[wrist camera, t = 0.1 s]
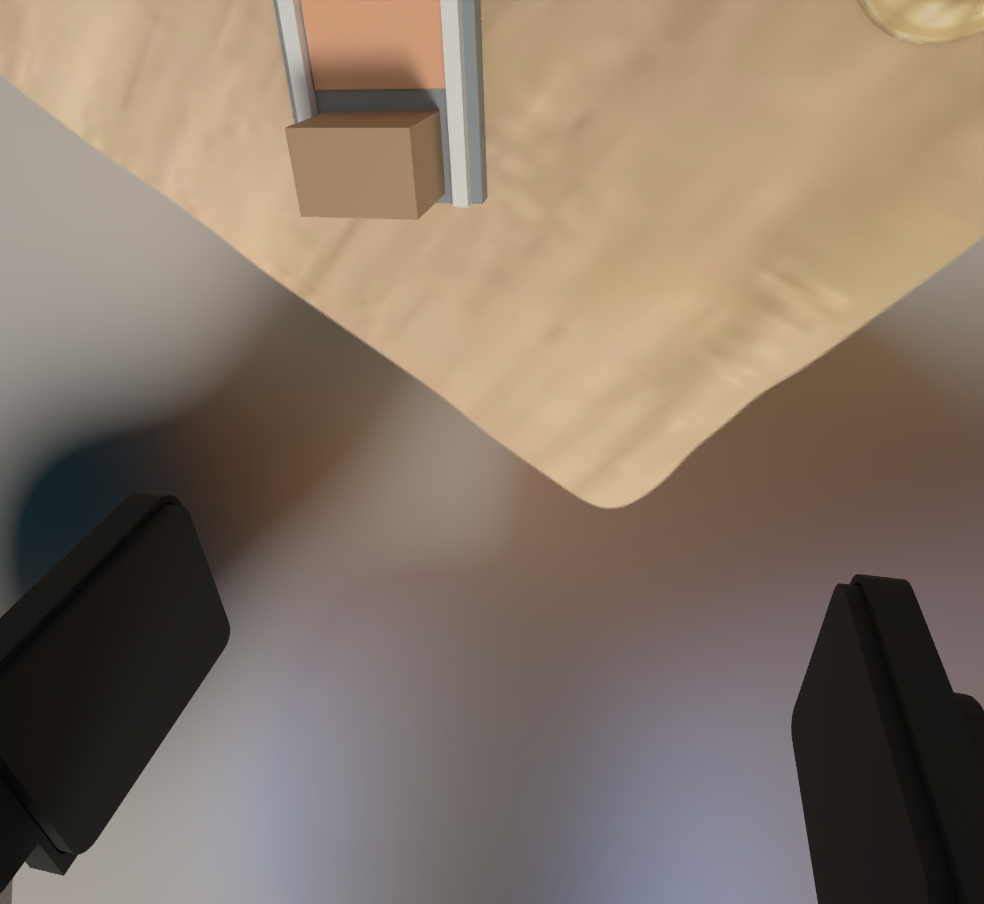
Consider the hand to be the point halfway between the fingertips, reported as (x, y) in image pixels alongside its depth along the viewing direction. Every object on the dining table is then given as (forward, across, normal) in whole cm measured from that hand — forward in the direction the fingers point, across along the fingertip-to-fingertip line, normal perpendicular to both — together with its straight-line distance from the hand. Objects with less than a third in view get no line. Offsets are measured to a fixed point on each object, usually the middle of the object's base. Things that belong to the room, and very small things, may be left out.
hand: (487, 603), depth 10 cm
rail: (+31, +12, -7) cm, 34 cm away
